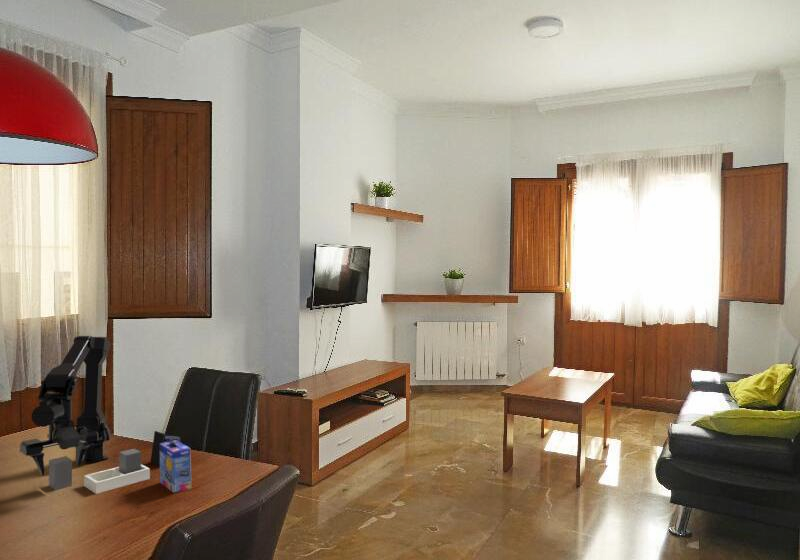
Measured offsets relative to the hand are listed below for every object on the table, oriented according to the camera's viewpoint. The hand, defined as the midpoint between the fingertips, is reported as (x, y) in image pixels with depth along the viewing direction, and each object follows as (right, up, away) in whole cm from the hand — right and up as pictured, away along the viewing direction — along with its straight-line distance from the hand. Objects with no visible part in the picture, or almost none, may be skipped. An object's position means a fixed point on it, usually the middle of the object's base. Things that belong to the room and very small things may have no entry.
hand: (60, 471), depth 167 cm
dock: (+15, -5, +3) cm, 16 cm away
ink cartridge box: (+32, -6, +2) cm, 32 cm away
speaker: (+22, -5, +21) cm, 30 cm away
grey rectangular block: (0, -5, 0) cm, 5 cm away
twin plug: (+17, -4, +6) cm, 18 cm away
